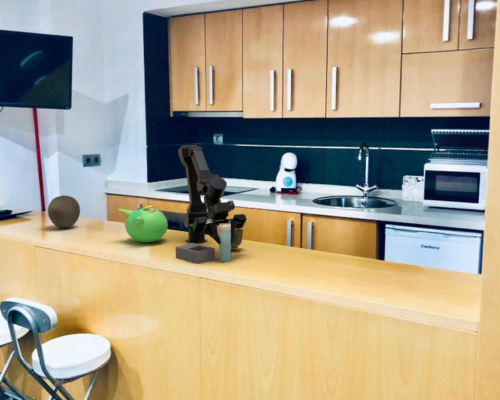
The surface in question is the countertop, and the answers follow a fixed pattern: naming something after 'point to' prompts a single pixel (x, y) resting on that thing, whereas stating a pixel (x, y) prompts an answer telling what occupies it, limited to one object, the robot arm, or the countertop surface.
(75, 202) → the cantaloupe
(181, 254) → the socket
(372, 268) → the countertop surface
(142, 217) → the toy bird
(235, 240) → the cup
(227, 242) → the peg
